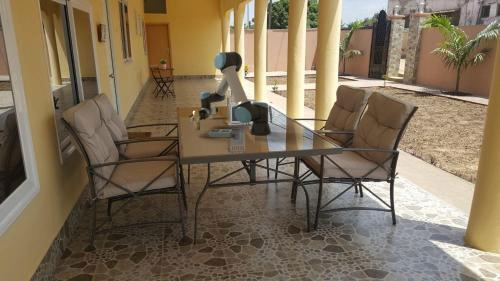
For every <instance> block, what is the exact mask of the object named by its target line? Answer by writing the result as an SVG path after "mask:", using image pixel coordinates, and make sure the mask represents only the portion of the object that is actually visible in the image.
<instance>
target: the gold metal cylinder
mask: <svg viewBox="0 0 500 281" xmlns="http://www.w3.org/2000/svg"><path fill="white" fill-rule="evenodd" d="M192 114H193V121H192V122H193V130H194V131H196V132H197V131H201V120H200V121H199V122H197V118H198V117H199V109H198V110H197V109H196V110H195V109H194V110H192Z"/></svg>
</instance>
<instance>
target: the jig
mask: <svg viewBox="0 0 500 281" xmlns="http://www.w3.org/2000/svg"><path fill="white" fill-rule="evenodd" d="M232 135H233V129H225V128H224V129H222V128H221V129H218V128H217V129H215V128H212V129H211V130H210V131H209V132H208V137H209V138H227V137H232Z"/></svg>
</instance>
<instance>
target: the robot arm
mask: <svg viewBox="0 0 500 281" xmlns="http://www.w3.org/2000/svg"><path fill="white" fill-rule="evenodd" d="M213 63H214V67H215V69H217V70H220V73H221V74H222V75H223V77H222V79H221V80H220V82H219V84H218V86H217V88H216V89H215V91H214V92H212V93H211V92H210V91H201V92H200V109H198V111H199V117H198V118H197V122H199V121H200V122H201V121H202V120H206V119H209V115H211V113H212V108H211V105H212V103H213V104H214V103H221V102H224V101H225V99H226V93H227V91H228V89H230V92H231V94H232V97H233V98H234V100H235V104H236V106H235V110H234V111H235V112H234V117H235V119H236V120H237V121H238V122H240V123H242V124H245V123H247V124H249V123H251V122H252V124H251V127H250V130H249V131H250V132H249V133H250V134H251V135H253V136H267V135H270V134H271V131H272V130H271V127H270V124H269V103H267V102H262V101H253V102H252V101H251V100H249V99H248V96H247V95H246V92H245V90H244V87H243V85H242V82H241V80H240V78H239V75H238V73H239V72H240V70H241V68H242V66H243V58H242V55H241V54H240V53H238V52H236V51H222V52H218V53H217V54H215V56H214V60H213ZM189 122H194V121H193V113H192V114H190V115H189Z"/></svg>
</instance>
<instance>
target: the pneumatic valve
mask: <svg viewBox="0 0 500 281" xmlns="http://www.w3.org/2000/svg"><path fill="white" fill-rule="evenodd" d="M211 108H212V113H211V115H209V117H208V119H209V120H214V119H215V118H216V117H215V115H217V113H218V112H219V107H217V106H216V105H213V106H212V104H211Z"/></svg>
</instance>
